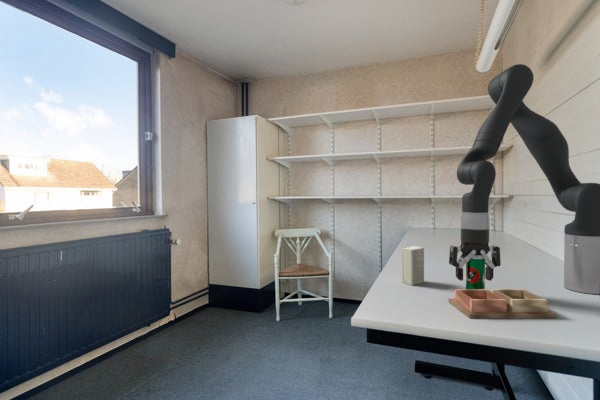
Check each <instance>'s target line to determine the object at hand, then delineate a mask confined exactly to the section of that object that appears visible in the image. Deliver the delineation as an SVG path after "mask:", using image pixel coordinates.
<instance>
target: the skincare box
mask: <svg viewBox="0 0 600 400" xmlns="http://www.w3.org/2000/svg"><path fill="white" fill-rule="evenodd" d="M401 249H402V250H401V252H402V253H401V257H402V258H401V259H402V260H401V261H402V262H401V265H402V266H401V269H402V271H401V272H402V273H401V278H402V280H401V281H402V283H403V284H407V285H409V286H415V285H420V284H424V283H425V248H424V247H420V246H417V245H412V246H405V247H402V248H401Z"/></svg>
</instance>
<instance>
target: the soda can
mask: <svg viewBox="0 0 600 400" xmlns="http://www.w3.org/2000/svg"><path fill="white" fill-rule="evenodd" d="M485 267H486V265H485V258H484V257H483V255H474V256H472V257H471V259H470V260H469V261H468V262H467V263H466V264H465V289H486V278H485Z"/></svg>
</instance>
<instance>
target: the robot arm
mask: <svg viewBox="0 0 600 400" xmlns="http://www.w3.org/2000/svg"><path fill="white" fill-rule="evenodd" d="M533 83H534V73H533V71H532V69H531V68H530V67H529V66H527V65H526V64H522V63H517V64H514V65H512V66H509V67H508V68H506V69H504V70H503V71H502V72H500V73H499V74H497V75H496V76H494V77H493V78H491V80H489V82H488V84H487V93H488V96H489V97H490V98H491V100H492V101H493V103H494V104H495V106H494V107H493V109H492V110H491V112H490V113H489V115H488V116H487V117H486V119H485V120H484V122H483V123H482V124H481V126H480V127H479V129H478V132H477V134H476V136H475V139H474V141H473V143H472V147H470V149H469V150H468V152H466V154H465V156H463V158H462V160H461V161H460V162H459V164H458V166H457V169H456V177H457V181H458V182H459V183H460V184H462V185H466V186H470V185H472V189H471V191H470V192H466V193H464V194H463V195H462V198H461V216H460V217H461V218H460V245H459V246H456V245H450V246H449V255H448V256H449V259H448V264H449V265H451V266H452V267H455V278H457V280H459V281H464V266H466V263H467V262H468V261H469V260H470V259H471V257H472V256H474V255H483V257H484V258H485V280H486V281H492V280H493V279H494V268H496V267H500V266H501V247H499V246H497V245H491V246H489V243H490V215H489V214H490V213H489V207H490V206H489V205H490V204H489V201H490V196H491V192H492V190H493V187H494V183H495V180H496V176H497V175H496V168H495V166H494V164H493V163H492V162H491V161H489V160H490V159H492V158H494V157H496V156H497V154H498V152H499V150H500V147H501V145H502V142H503V139H504V136H505V135H506V132H507V130H508V128H509V126H510V124H511V125H512V127H513V128H514V130H515V131H516V132H517V134H518V135H519V137H520V138H521V140H522V141H523V143H524V145H525V147H526V148H527V150H528V151H529V153H530V154H531V156H532V157H533V159H534V160H535V161H536V163H537V165H538V167H539V168H540V170H541V171H542V173H543V174H544V176H545V177H546V179H547V181H548V182H549V184H550V186H551V189H552V191H553V192H554V196H555V197H556V199H557V201H558V203H559V204H560V205H561V207H563V208H564V209H565V210H566V211H569V212H573V213H575V214H574V219H573V220H572V221H571V222H569V223H567V224H565V225H564V231H563V232H564V237H563V240H564V245H563V247H564V248H563V249H564V250H563V251H564V252H563V253H564V254H563V258H564V259H563V261H564V262H563V266H564V267H563V287H564V288H565V289H567V290H570V291H574V292H578V293H581V294H582V293H584V294H592V295H600V183H599V182H581V181H580V180H579V179H578V178H577V176H576V175H575V173H574V172H573V170H572V168H571V166H570V156H569V155H570V150H569V149H570V148H569V143H568V141H567V139H566V137H565V136H564V135H563V133H562V131H561V130H560V128H559V127H558V126H557V125H556V123H555V122H553V121H552V120H550V119H549V118H547V117H544V116H543V115H540V114H538V113H536V112H535V111H534V110H532V109H531V108H529V107H528V106H527V105H526V104H525V102H524V99H525V98H526V96H527V94H528V93H529V91H530V90H531V88H532V86H533ZM459 252H461V254H460V256H459V257H458V254H459ZM489 253H491V254H490V255H491V258H490V257H489V256H488V254H489Z"/></svg>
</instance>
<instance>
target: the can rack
mask: <svg viewBox="0 0 600 400" xmlns="http://www.w3.org/2000/svg"><path fill="white" fill-rule="evenodd" d="M447 303H449V304H450V305H452V306H453V307H454V308H455V309H456V310H458V311H459V312H461V313H462V314H463V315H464V316H466V317H467V318H468V319H557V313H555V312H553V311H551V310H550V309H548V308H549V305H548V299H546V298H543V297H541V296H540V295H537V294H536V293H535V294H534V293H533V292H530V291H528V290H526V289H524V288H493V289H492V288H491V291H490V290H488V289H487V288H485V289H466V288H465V289H463V288H461V289H460V288H457V289H456V288H455V289H454V298H448V302H447Z"/></svg>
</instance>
